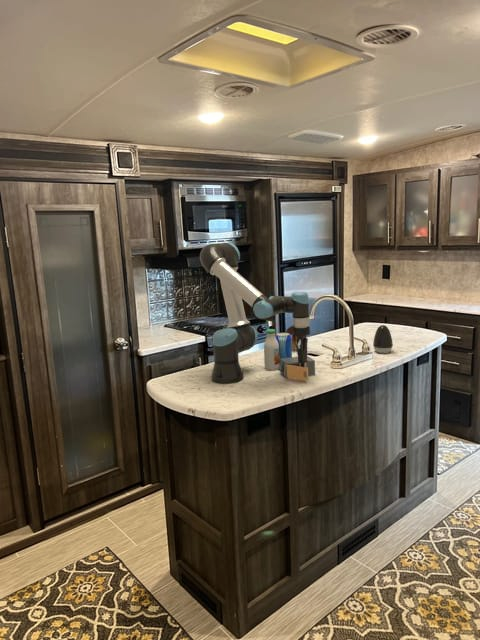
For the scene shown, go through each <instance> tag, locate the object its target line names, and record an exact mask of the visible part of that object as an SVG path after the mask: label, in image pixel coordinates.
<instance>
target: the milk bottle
mask: <svg viewBox="0 0 480 640" xmlns="http://www.w3.org/2000/svg"><path fill="white" fill-rule="evenodd" d="M265 334H266V338H265V341H264V345H263V358H264V359H263V361H264V369H265V370H266V371H267V370H268V371H276V370H279V362H280V355H279V344H278V341H277V339H276V329H273V328H269V329H266V333H265Z"/></svg>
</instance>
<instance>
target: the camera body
mask: <svg viewBox="0 0 480 640" xmlns="http://www.w3.org/2000/svg"><path fill="white" fill-rule="evenodd" d="M306 360H308V362H306V367H307V368H308V377H309V376H315V375H316V363H315V362H316V361H315V360H314V359H313V358H312V357H310V356H308V355H307V359H306ZM284 364H287V365H293V366H300V363H298V356H292V357H291V358H282V359H280V362H279V369H278V371H279V372H280V373H281V374H282V376H284Z"/></svg>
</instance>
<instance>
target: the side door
mask: <svg viewBox="0 0 480 640" xmlns="http://www.w3.org/2000/svg"><path fill="white" fill-rule="evenodd" d="M283 376H284V379H294V380H297V381H298V380H300V381H305V382H308V381H309V376H308V368H307V367H300V366H293V365H287V364H284V375H283Z"/></svg>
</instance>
